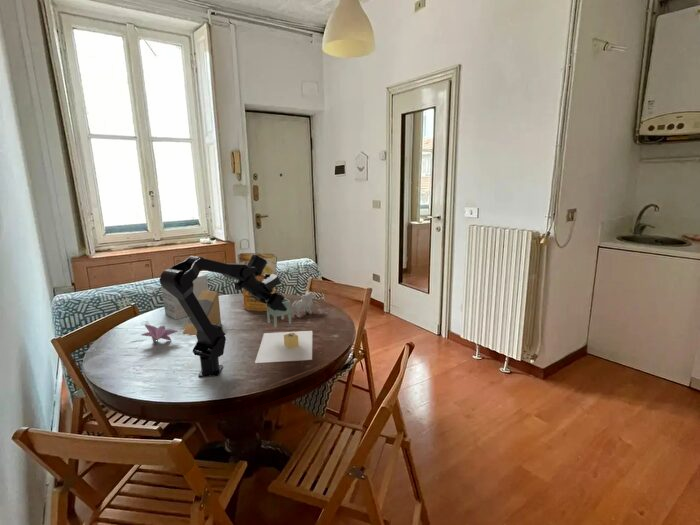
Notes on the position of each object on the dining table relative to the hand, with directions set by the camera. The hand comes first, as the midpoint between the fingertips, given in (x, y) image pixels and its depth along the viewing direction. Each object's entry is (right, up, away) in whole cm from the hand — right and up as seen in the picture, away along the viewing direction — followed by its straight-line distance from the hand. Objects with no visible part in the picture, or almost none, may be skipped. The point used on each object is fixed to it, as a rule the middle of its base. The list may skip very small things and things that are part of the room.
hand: (281, 307), depth 146 cm
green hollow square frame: (-1, -6, +1) cm, 6 cm away
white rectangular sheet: (+3, -14, -5) cm, 15 cm away
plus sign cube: (+5, -14, -5) cm, 15 cm away
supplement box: (-52, -6, +33) cm, 62 cm away
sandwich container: (-37, -11, +13) cm, 41 cm away
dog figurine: (+5, -7, +29) cm, 30 cm away
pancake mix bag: (-17, -5, +35) cm, 40 cm away
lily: (-47, -15, -2) cm, 50 cm away
